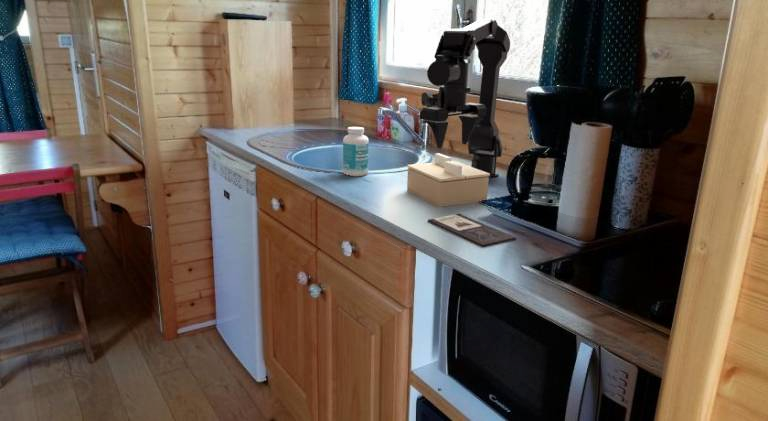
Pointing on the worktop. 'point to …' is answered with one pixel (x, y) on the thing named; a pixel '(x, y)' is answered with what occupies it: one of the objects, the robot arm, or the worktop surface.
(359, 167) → the pill bottle
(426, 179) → the carton
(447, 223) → the chocolate bar
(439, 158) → the inner lid
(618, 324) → the worktop surface
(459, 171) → the outer lid
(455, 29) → the robot arm
